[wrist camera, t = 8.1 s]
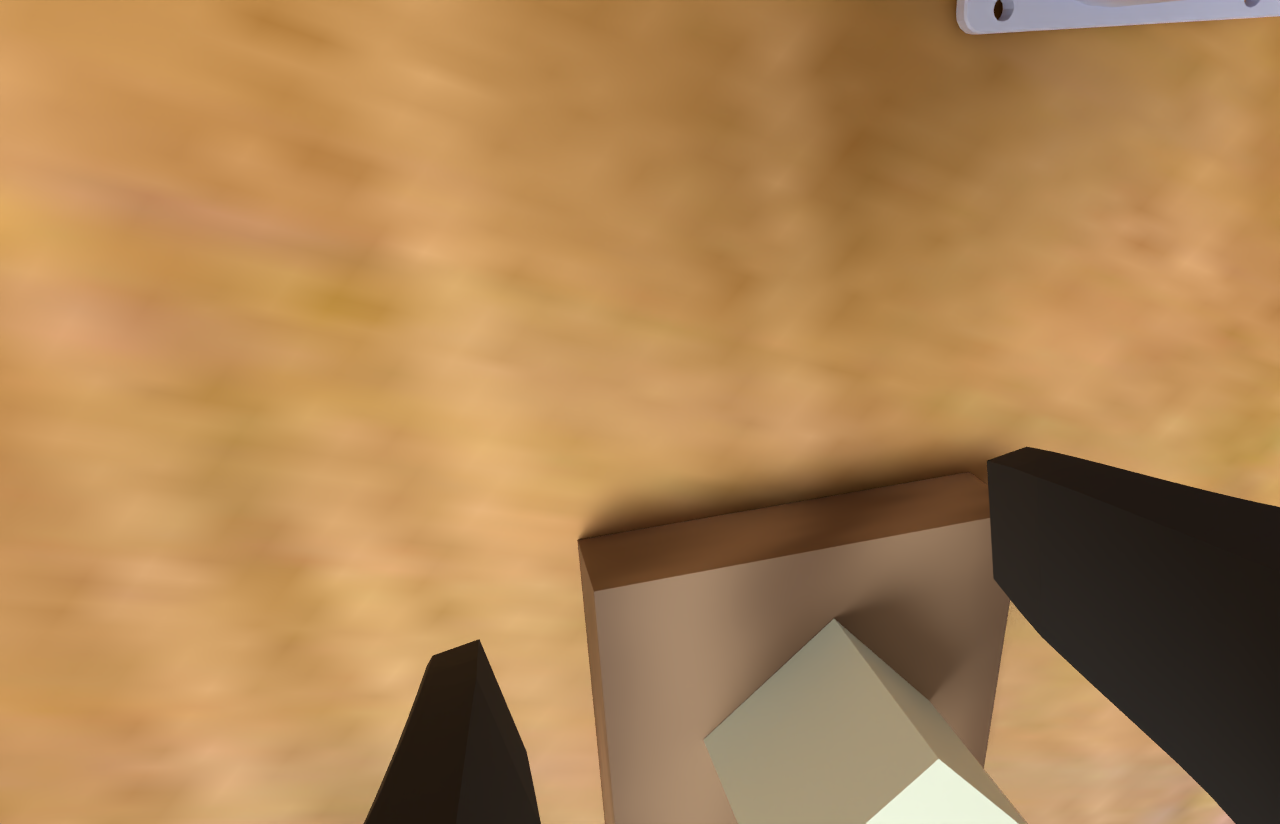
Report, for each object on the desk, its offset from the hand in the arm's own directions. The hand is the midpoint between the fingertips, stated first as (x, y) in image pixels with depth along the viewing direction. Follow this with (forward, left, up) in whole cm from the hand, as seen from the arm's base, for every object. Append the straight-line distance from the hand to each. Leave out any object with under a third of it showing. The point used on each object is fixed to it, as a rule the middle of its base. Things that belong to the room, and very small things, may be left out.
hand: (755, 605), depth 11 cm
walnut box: (-5, +11, -11) cm, 16 cm away
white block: (-5, +11, -8) cm, 14 cm away
